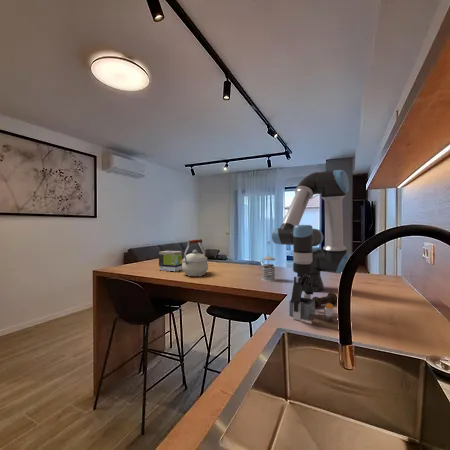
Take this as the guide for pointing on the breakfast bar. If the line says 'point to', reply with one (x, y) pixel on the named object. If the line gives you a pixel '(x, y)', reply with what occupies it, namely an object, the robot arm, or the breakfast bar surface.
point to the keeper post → (328, 312)
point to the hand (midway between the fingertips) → (302, 314)
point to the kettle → (195, 261)
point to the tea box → (170, 260)
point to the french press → (268, 270)
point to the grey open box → (304, 308)
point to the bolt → (325, 300)
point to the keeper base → (321, 322)
